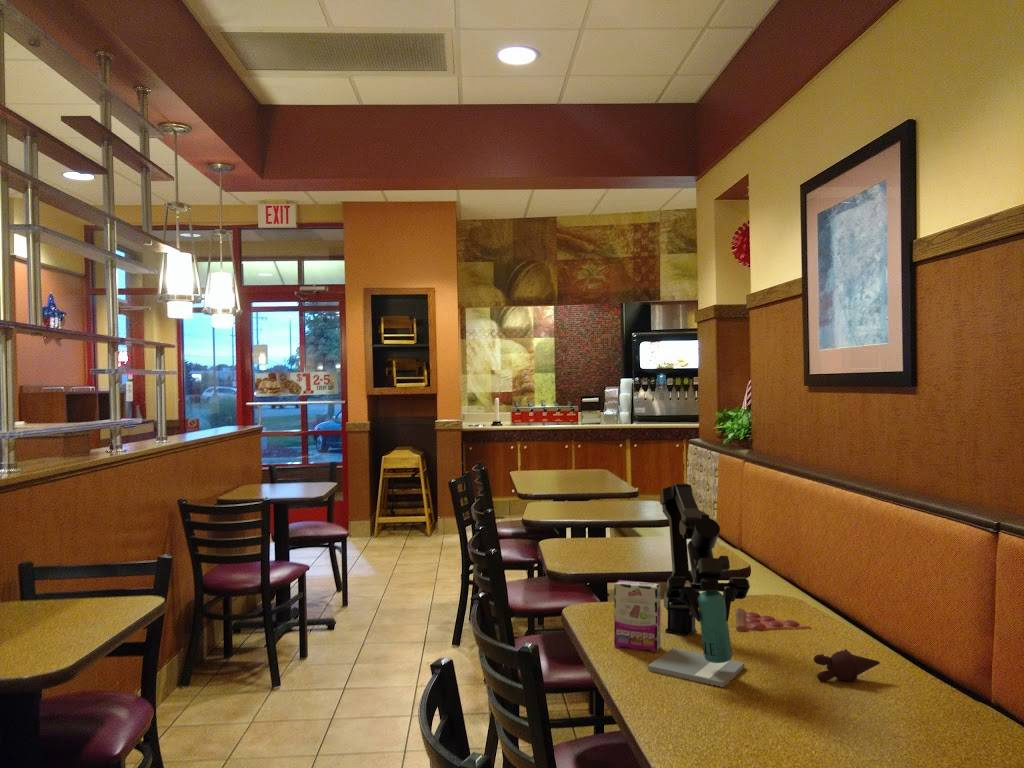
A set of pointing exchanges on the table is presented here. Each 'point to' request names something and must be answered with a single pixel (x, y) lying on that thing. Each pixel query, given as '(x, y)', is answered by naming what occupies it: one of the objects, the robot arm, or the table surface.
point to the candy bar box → (637, 616)
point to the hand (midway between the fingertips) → (713, 621)
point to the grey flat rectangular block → (695, 667)
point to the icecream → (843, 665)
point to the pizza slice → (762, 622)
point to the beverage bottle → (714, 622)
